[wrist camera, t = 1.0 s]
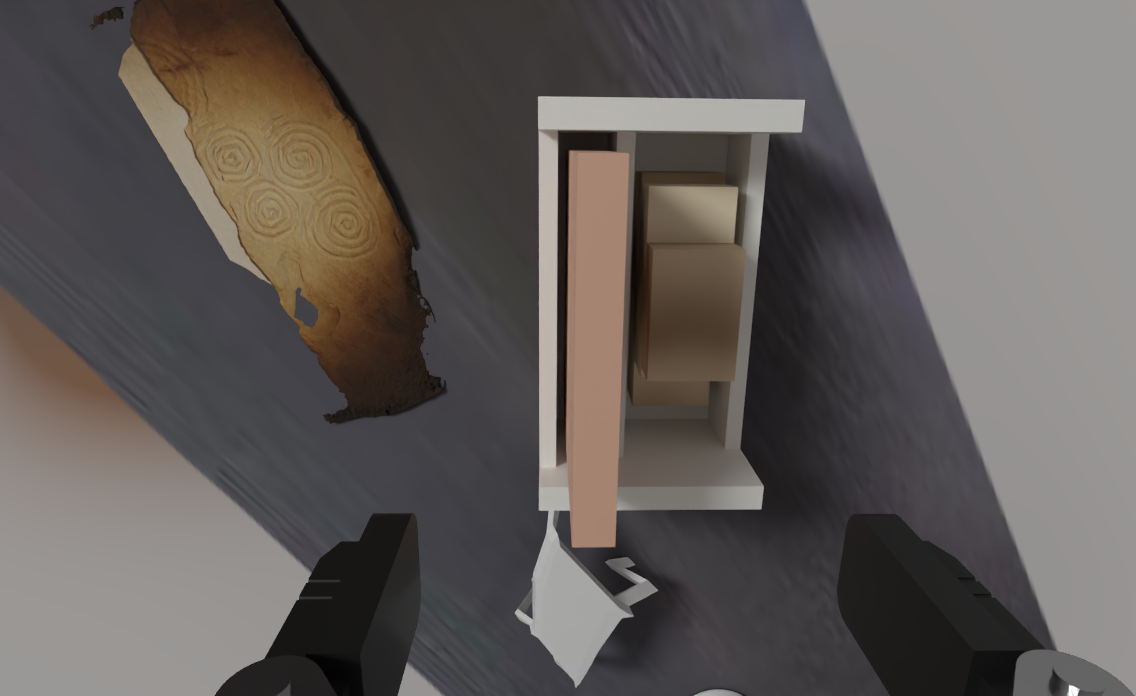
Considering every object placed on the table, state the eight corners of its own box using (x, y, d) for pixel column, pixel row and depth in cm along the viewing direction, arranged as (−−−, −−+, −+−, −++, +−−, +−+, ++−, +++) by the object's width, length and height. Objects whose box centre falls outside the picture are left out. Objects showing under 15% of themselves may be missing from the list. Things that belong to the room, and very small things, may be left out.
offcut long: (635, 170, 34) (642, 172, 32) (712, 171, 35) (725, 173, 32) (627, 389, 38) (632, 405, 36) (697, 389, 38) (707, 405, 36)
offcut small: (646, 242, 31) (653, 249, 29) (733, 243, 31) (746, 249, 29) (641, 367, 32) (647, 381, 30) (723, 367, 32) (734, 381, 30)
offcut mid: (641, 183, 32) (649, 186, 30) (724, 184, 32) (738, 187, 30) (634, 361, 35) (640, 377, 32) (710, 361, 35) (722, 376, 33)
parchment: (83, 11, 33) (70, 8, 32) (257, -80, 32) (248, -85, 31) (335, 432, 40) (330, 439, 39) (484, 371, 39) (482, 376, 38)
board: (566, 149, 34) (577, 152, 21) (597, 150, 34) (629, 153, 21) (563, 405, 38) (572, 547, 25) (591, 405, 38) (615, 547, 25)
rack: (540, 108, 34) (538, 96, 26) (741, 111, 35) (805, 99, 26) (540, 431, 40) (539, 510, 31) (715, 430, 40) (761, 509, 31)
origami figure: (668, 601, 44) (682, 656, 39) (550, 644, 44) (550, 704, 40) (599, 447, 40) (605, 487, 35) (472, 497, 41) (462, 543, 36)
